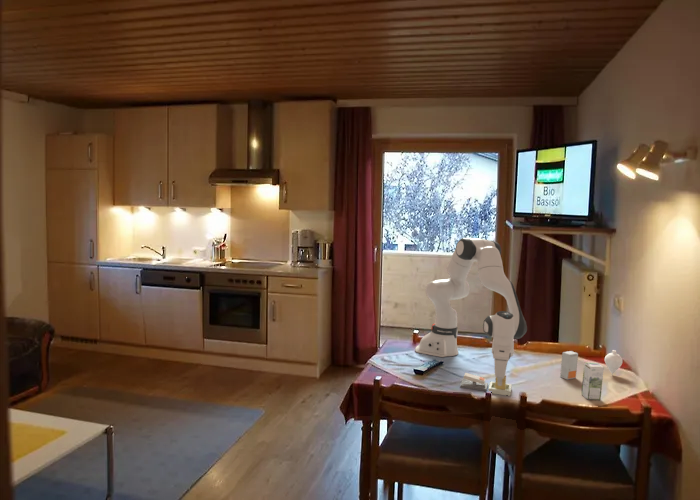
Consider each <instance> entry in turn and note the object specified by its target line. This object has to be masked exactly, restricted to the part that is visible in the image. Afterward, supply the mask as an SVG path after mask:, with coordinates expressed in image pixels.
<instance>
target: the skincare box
mask: <svg viewBox="0 0 700 500" xmlns="http://www.w3.org/2000/svg"><path fill="white" fill-rule="evenodd" d="M578 360H579V353H578V352H576V351H575V352H574V351H573V350H569V351H568V350H567V351H563V352H562V353H561V361H560V362H561V363H560V376H559V377H560V378H562V379H565V380H572V379H576V378H577V371H578V370H577V369H578Z"/></svg>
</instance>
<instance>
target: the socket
mask: <svg viewBox="0 0 700 500" xmlns="http://www.w3.org/2000/svg"><path fill="white" fill-rule="evenodd" d="M495 382H496V381H490V382H489V384H488V388H487V390H488V391H492V393H491V394H494V395H502V396H506V395H508V396H507V397H511V395H512V389H513V387H512V386H513V385H512V383H511V384H510V383H506V385H505V390H503V389H496V388H495Z"/></svg>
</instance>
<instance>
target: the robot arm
mask: <svg viewBox="0 0 700 500" xmlns="http://www.w3.org/2000/svg"><path fill="white" fill-rule="evenodd" d="M501 255H502V247H501V244H500V243H498V242H497V241H494V240H489V239H485V238H475V237H471V238H470V237H463V238H460V239H459V240H457V242H456V245H455V249H454V252H453V253H452V255H451V257H450V259H449V262H448V263H447V266H446V271H447V273H448V275H449V276H448V278H444V279H442V278H441V279H434V280H431V281H429V282H428V283H427V284H426V286H425V295H426V297H427V298H428V299H429V300H430V301H431V302H432V304H433V306H434V310H435V311H434V312H435V322H434V323H433V324H432V325H431V328H430V329H431V331H430V332H429V333H427V334H425V335H424V336H422V338H421V339H420V341H419V344H418V345H416V347H415V349H414V351H415V353H418V354H423V355H429V356H434V357H438V358H439V357H440V358H446V357H452V356H453V357H454V356H457V355H459V350H458V344H457V343H458V342H457V338H458V312H457V310H456V309H455V308H453V307H452V305H451V301H453V300H454V301H455V300H461V299H464V298H466V297H468V296H469V295H470V291H471V286H470V284H469V281H468V280H467V279H468V277H469V276H468V275H469V273H470V271H471V269H472V267H473V265H474V263H475V262H476V263H477V266H478V269H477V271H478V278H479V282H480V284H481V285H482V286H483V287H485V288H486V289H488V290H489V291H493V292H495V293H497V294H499V295H501V296H502V297H504V299H505V300H506V304H507V307H508V311H505V310H500V311H497V312H496V313H495V314H493V315H492V314H491V315H487V316H486V317H485V318H484V320H483V325H482V326H483V327H482V328H483V332H484V333H485V335H486V336H488V337H489V338H492V343H491V344H492V345H491V354H492V359H494V363H493V364H494V376H495V378H496V377H497V380H498V384H497V385H498V386H502V380H503V378H504V377H505V375H506V371H507V366H508V362H509V361H510V359H511V357H513V356H514V348H515V347H514V346H515V343H514V339H518V340H519V339H522V338H523V337H524V335H526V333H527V331H528V326H527V325H528V324H527V321H526V320H525V317H524V315H523V311H522V308H521V306H520V301H519V298H518V295H517V292H516V288H515V287H514V284H513V281H511V280H509V278H508V277H507V276H506V274H505V272H504V266H503V260H502V257H501Z"/></svg>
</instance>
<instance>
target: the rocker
mask: <svg viewBox="0 0 700 500" xmlns="http://www.w3.org/2000/svg"><path fill="white" fill-rule="evenodd" d="M463 379H464V380H470V381H473V382H477V383H480V384H484V383H486V380H487V378H485V377H483V376H479V375H476V374H473V373H468V372H464V375H463ZM463 379H462V380H463Z"/></svg>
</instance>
